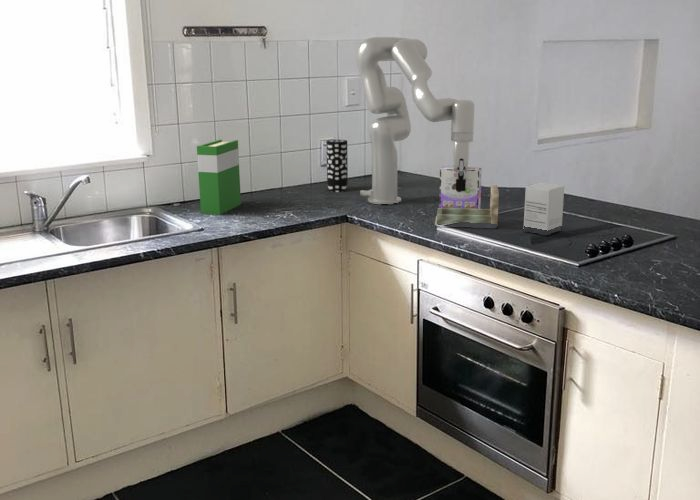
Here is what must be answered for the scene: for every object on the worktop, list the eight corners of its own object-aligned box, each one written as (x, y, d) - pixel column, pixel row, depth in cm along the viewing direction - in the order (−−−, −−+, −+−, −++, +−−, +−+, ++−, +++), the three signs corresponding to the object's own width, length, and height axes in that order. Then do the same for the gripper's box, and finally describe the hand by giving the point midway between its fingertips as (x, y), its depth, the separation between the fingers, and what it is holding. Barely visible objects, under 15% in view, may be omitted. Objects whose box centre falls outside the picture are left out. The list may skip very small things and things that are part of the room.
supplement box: (537, 226, 246) (540, 181, 242) (562, 231, 240) (565, 185, 236) (522, 232, 240) (524, 185, 236) (546, 237, 234) (550, 189, 230)
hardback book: (222, 203, 285) (219, 139, 278) (240, 204, 283) (237, 140, 276) (200, 213, 268) (196, 146, 262) (219, 214, 266) (216, 146, 260)
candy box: (480, 213, 265) (482, 167, 261) (477, 217, 260) (479, 170, 255) (442, 211, 269) (443, 165, 265) (438, 214, 264) (439, 168, 260)
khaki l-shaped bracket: (435, 227, 247) (435, 191, 243) (435, 218, 258) (436, 184, 255) (497, 229, 244) (498, 192, 241) (495, 220, 255) (496, 185, 252)
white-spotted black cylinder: (347, 192, 303) (347, 142, 298) (326, 192, 303) (326, 142, 298) (347, 188, 311) (347, 139, 306) (327, 188, 311) (326, 139, 306)
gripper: (451, 133, 266) (449, 183, 271) (450, 140, 249) (449, 193, 254) (472, 134, 265) (470, 184, 270) (473, 140, 248) (471, 193, 253)
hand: (460, 188), depth 262 cm, fingers closed on candy box, 6 cm apart
